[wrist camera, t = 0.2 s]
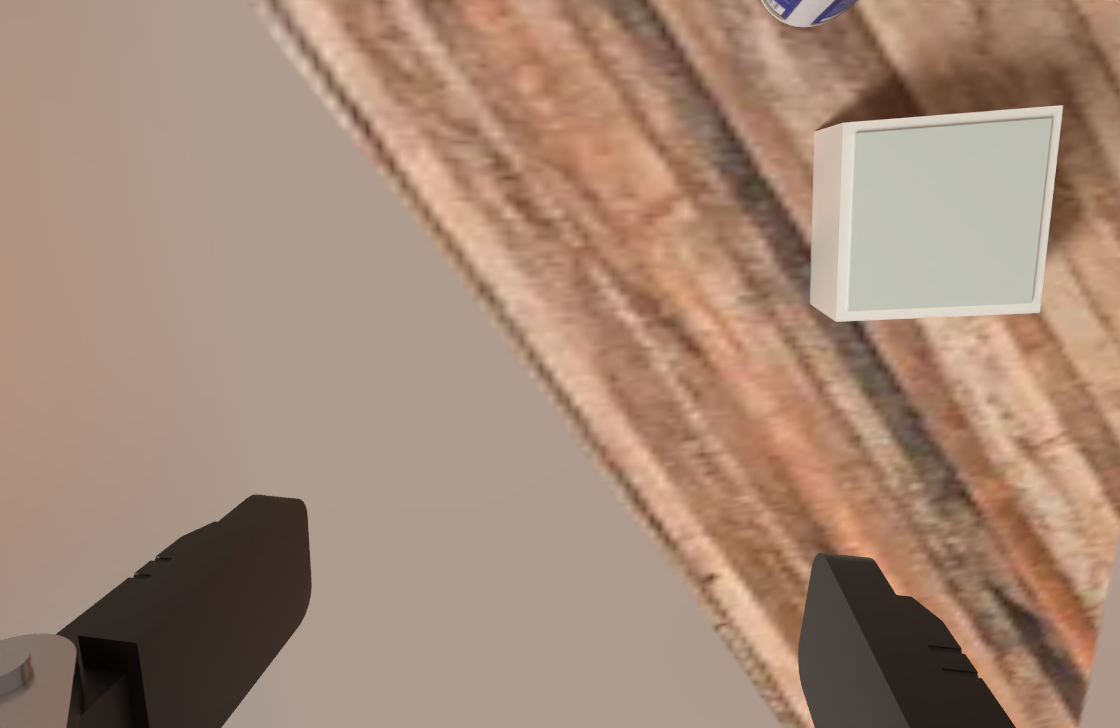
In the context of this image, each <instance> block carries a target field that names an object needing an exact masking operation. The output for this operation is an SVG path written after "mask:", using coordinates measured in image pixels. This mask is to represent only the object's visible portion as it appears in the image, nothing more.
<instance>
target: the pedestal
mask: <svg viewBox="0 0 1120 728" xmlns="http://www.w3.org/2000/svg"><path fill="white" fill-rule="evenodd" d="M1062 111H1063V105H1059V106H1047V107H1034V108H1022V109H1009V110H996V111H984V112H971V113H959V114H946V115H934V116H921V117H909V118H896V119H883V120H871V121H858V122H846V123H841V124H837V125H834V126H831V127H828V128H824V129H821V130H818V131H815V132H814V169H813V208H812V247H811V286H810V304H811V305H812V306H814V307H815V308H817V309H818V310H820V311H821V312H823V313H824V314H826V315H827V316H829V317H830V318H831V319H833V320H834V321H836V322H838V321H861V320H884V319H907V318H930V317H953V316H975V315H998V314H1021V313H1040V305H1041V297H1042V288H1043V279H1044V270H1045V261H1046V252H1047V244H1048V235H1049V226H1050V217H1051V208H1052V199H1053V191H1054V182H1055V173H1056V164H1057V155H1058V146H1059V138H1060V129H1061V120H1062Z"/></svg>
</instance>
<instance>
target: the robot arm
mask: <svg viewBox="0 0 1120 728" xmlns="http://www.w3.org/2000/svg"><path fill="white" fill-rule="evenodd" d="M310 596H311V568H310V550H309V533H308V517H307V510H306V506H305V504H304V502H303V501H302V500H300V499H295V498H285V497H275V496H266V495H252V496H250V497H248V498H247V499H245V500H244V501H243V502H242V503H241V504H239V505H238V506H237V507H236V508H234V509H233V510H232V511H231V512H230V513H228V514H227V515H226V516H225V517H224V518H222V519H221V520H220V521H218V522H213V523H211V524H208V525H206V526H204V527H202V528H200V529H197V530H195V531H193V532H191V533H189V534H186V535H184V536H182V537H181V538H179V539H178V540H177V541H175V542H174V543H173V544H171V545H170V546H169V547H168V548H166V549H165V550H164V551H162V552H161V553H160V554H158V555H157V556H156V559H155V561H149V562H148V563H147V564H146V565H144V566H143V567H142V568H140V569H139V570H138V571H137V572H135V573H134V577H133V578H128V579H126V580H125V581H124V582H123V583H121V584H120V585H119V586H117V587H116V588H115V589H113V590H112V591H111V592H110V593H108V594H107V595H106V596H105V597H103V598H102V599H101V600H99V601H98V602H97V603H95V604H94V605H93V606H92V607H90V608H89V609H88V610H86V611H85V612H84V613H83V614H81V615H80V616H79V617H77V618H76V619H75V620H74V621H73V622H71V623H70V624H69V625H67V626H66V627H65V628H63V629H62V630H61V631H60V632H58V633H57V634H56V635H54V634H30V635H22V636H17V637H12V638H8V639H4V640H1V641H0V728H221V727H222V726H223V725H224V723H225V722H226V721H227V719H228V718H229V717H230V716H231V714H232V713H233V712H234V710H235V709H236V708H237V706H238V705H239V704H240V703H241V701H242V700H243V699H244V697H245V696H246V695H247V693H248V692H249V691H250V689H251V688H252V687H253V685H254V684H255V683H256V682H257V680H258V679H259V678H260V676H261V675H262V674H263V672H264V671H265V670H266V668H267V667H268V666H269V665H270V663H271V662H272V661H273V659H274V658H275V657H276V655H277V654H278V653H279V651H280V650H281V649H282V648H283V646H284V645H285V644H286V642H287V641H288V639H289V638H290V637H291V636H292V634H293V633H294V632H295V630H296V629H297V628H298V627H299V625H300V624H301V622H302V620H303V618H304V616H305V614H306V611H307V608H308V605H309V601H310ZM798 662H799V674H800V680H801V685H802V689H803V692H804V695H805V698H806V701H807V704H808V707H809V711H810V714H811V717H812V720H813V723H814V726H815V728H1016V727H1015V726H1014V724H1013V723H1012V721H1011V720H1010V719H1009V717H1008V716H1007V714H1006V713H1005V711H1004V710H1003V708H1002V707H1001V705H1000V704H999V703H998V701H997V700H996V698H995V697H994V695H993V694H992V692H991V691H990V689H989V688H988V687H987V685H986V684H985V682H984V681H983V679H982V678H978V675H977V673H978V672H977V671H976V669H975V668H974V666H973V665H972V663H971V662H970V660H969V659H968V658H967V656H966V655H965V654H962V652H961V647H960V646H959V645H958V643H957V642H956V640H955V639H954V637H953V636H952V634H951V633H950V631H949V630H948V629H947V627H946V626H945V624H944V623H943V621H941V620H940V619H939V618H938V617H936V616H935V615H934V614H933V613H931V612H930V611H929V610H928V609H926V608H925V607H924V606H923V605H921V604H920V603H919V602H918V601H916V600H915V599H914V598H912V597H909V596H900V595H896V594H895V592H894V591H893V589H892V588H891V586H890V584H889V583H888V581H887V579H886V578H885V576H884V575H883V573H882V571H881V570H880V568H879V567H878V565H877V563H876V562H875V561H874V560H873V559H872V558H866V557H857V556H847V555H837V554H827V553H818V554H817V555H816V557H815V559H814V561H813V565H812V570H811V576H810V581H809V587H808V593H807V599H806V605H805V611H804V616H803V622H802V628H801V634H800V640H799V652H798Z"/></svg>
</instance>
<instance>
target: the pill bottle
mask: <svg viewBox="0 0 1120 728" xmlns="http://www.w3.org/2000/svg"><path fill="white" fill-rule="evenodd" d="M761 1H762V3H763V5H764V6H765V8H766V9H767V10H768V11H769V12H770V13H771V14H772V15H773V16H774V17H775V18H777V19H778V20H780V21H782V22H784V23H786V24H789V25H792V26H796V27H813V26H818V25H821V24H824V23H826V22H829V21H831V20H832V19H834V18H836V17H837V16H839V15H840V14H841V13H843V12H844V11H845V10H846V9H848V8H849V7H850V6H851V5H852V4H853V3H854V2H856V1H857V0H761Z"/></svg>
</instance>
